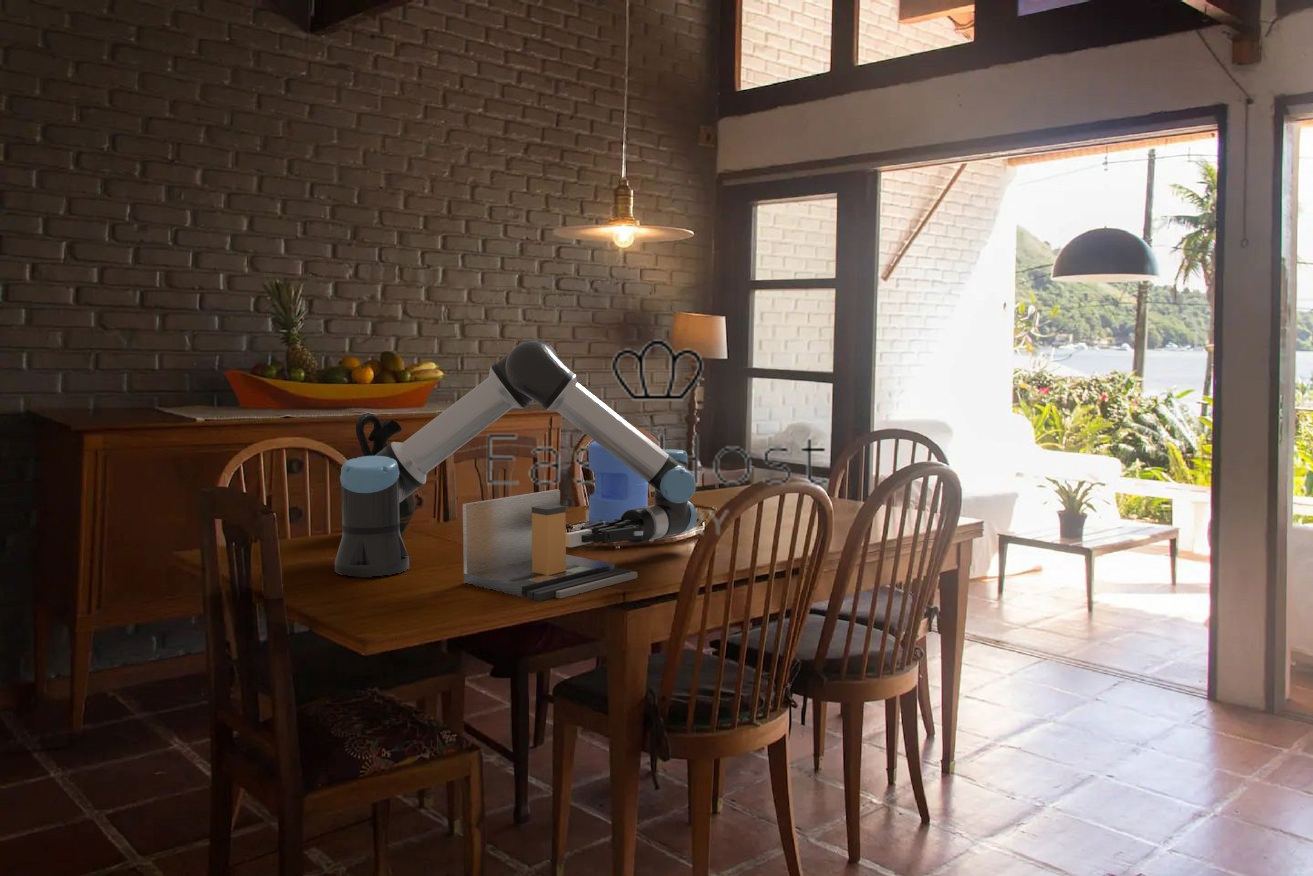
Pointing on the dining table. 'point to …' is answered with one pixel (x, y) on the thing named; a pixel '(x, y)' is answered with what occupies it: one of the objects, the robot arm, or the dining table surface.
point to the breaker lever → (548, 539)
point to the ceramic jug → (379, 438)
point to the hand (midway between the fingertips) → (567, 540)
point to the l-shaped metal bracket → (512, 546)
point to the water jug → (613, 486)
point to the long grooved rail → (582, 584)
